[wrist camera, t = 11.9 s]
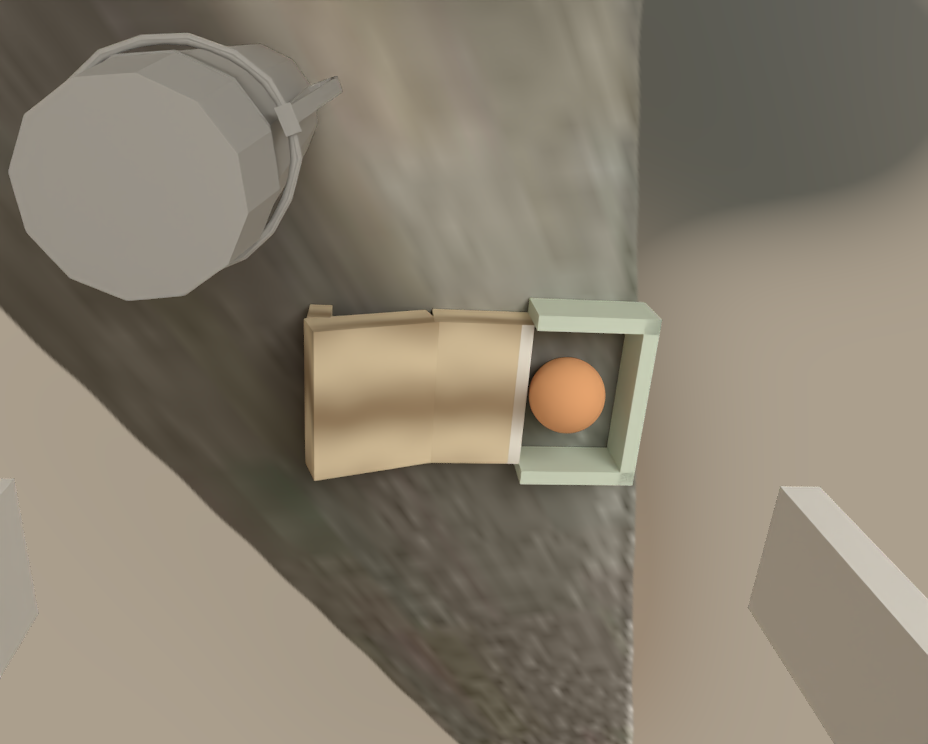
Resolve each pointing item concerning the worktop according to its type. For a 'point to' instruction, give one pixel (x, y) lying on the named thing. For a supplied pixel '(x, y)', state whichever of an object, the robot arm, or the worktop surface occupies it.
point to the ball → (566, 395)
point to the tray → (629, 398)
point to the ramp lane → (413, 388)
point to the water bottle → (164, 161)
